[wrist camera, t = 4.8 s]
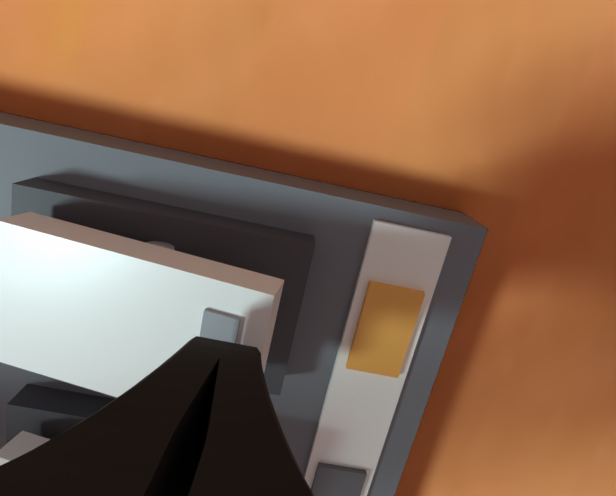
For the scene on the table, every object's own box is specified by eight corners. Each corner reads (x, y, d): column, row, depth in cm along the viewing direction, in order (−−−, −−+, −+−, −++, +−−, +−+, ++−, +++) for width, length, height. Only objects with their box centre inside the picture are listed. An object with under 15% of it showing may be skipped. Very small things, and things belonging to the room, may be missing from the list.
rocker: (25, 341, 12) (-10, 362, 11) (30, 211, 11) (-9, 221, 10) (256, 409, 11) (242, 439, 10) (284, 280, 10) (273, 297, 9)
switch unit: (-69, 581, 19) (-154, 690, 15) (-90, 92, 13) (-234, 87, 10) (323, 636, 20) (327, 747, 17) (463, 212, 14) (515, 247, 11)
